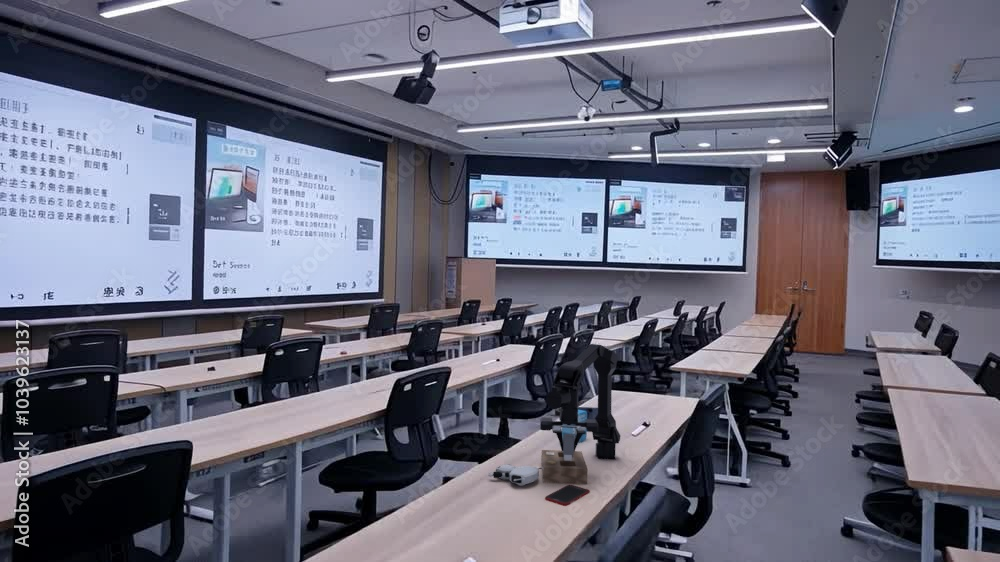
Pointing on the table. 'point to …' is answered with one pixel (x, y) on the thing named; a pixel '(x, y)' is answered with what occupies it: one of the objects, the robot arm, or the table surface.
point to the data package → (581, 418)
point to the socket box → (563, 468)
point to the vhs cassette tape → (589, 412)
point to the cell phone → (567, 495)
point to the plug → (568, 446)
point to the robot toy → (517, 474)
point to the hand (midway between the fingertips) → (568, 450)
